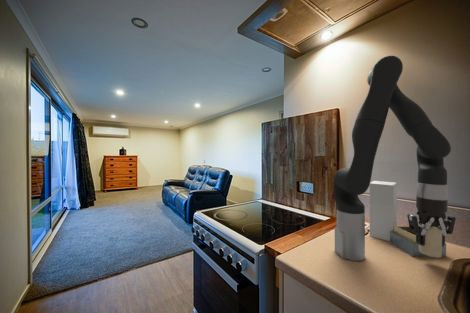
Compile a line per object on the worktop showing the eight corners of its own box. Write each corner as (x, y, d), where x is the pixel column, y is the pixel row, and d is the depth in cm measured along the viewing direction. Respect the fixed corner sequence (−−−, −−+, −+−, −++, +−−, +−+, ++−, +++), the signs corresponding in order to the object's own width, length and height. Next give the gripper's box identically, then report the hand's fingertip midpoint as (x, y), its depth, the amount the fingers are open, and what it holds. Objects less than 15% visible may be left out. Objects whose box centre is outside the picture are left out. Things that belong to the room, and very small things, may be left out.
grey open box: (412, 256, 71) (412, 236, 71) (389, 242, 82) (389, 225, 82) (446, 256, 71) (446, 236, 71) (418, 242, 82) (418, 225, 82)
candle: (446, 258, 63) (447, 228, 63) (426, 256, 64) (427, 227, 64) (433, 250, 68) (433, 222, 68) (414, 248, 69) (415, 221, 69)
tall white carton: (393, 242, 82) (393, 185, 82) (369, 236, 89) (369, 182, 88) (397, 236, 88) (397, 182, 88) (373, 230, 95) (373, 180, 94)
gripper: (419, 198, 62) (418, 249, 63) (466, 199, 61) (464, 251, 62) (400, 193, 70) (399, 239, 70) (442, 194, 69) (441, 240, 69)
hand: (430, 244), depth 66 cm, fingers closed on candle, 5 cm apart
